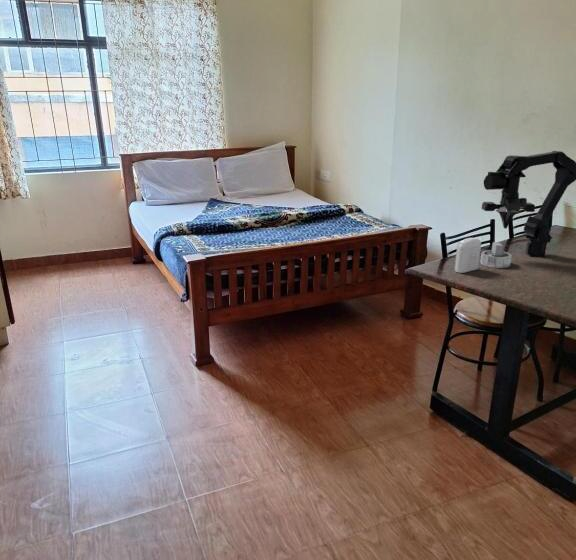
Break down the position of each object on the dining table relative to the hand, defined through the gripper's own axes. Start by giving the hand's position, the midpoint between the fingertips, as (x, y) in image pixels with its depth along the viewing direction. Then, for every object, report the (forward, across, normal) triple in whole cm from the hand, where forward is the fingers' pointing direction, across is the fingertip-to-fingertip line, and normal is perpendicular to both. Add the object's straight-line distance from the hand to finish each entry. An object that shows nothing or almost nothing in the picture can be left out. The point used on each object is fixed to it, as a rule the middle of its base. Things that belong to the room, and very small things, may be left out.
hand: (505, 228), depth 200 cm
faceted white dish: (+12, -5, -10) cm, 16 cm away
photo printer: (+12, -18, -20) cm, 30 cm away
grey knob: (+10, -5, -10) cm, 15 cm away
